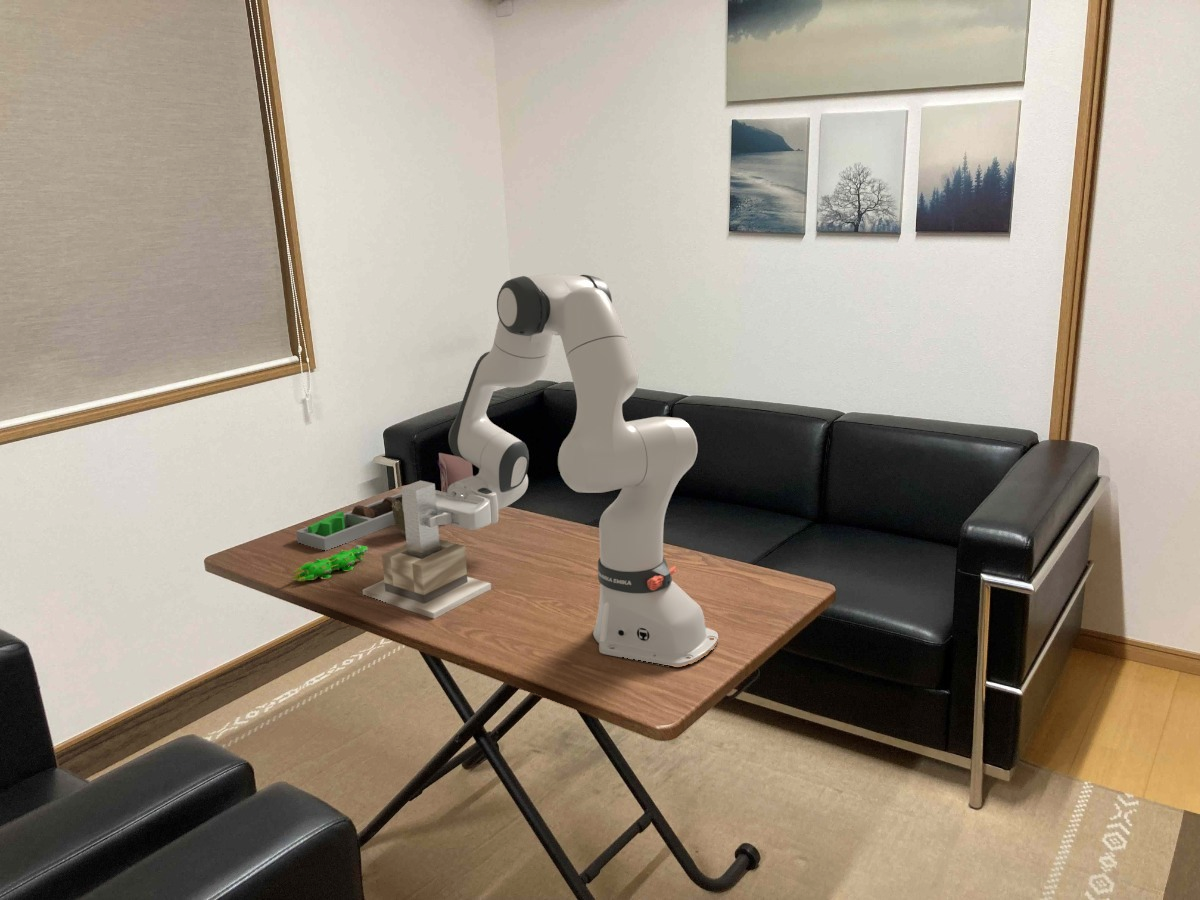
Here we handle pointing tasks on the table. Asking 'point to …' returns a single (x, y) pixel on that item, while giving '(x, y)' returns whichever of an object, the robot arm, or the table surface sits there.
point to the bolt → (376, 508)
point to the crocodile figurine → (330, 564)
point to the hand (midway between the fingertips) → (417, 520)
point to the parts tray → (348, 529)
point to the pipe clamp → (328, 525)
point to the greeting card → (453, 470)
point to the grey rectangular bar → (420, 519)
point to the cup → (399, 516)
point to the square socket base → (427, 581)
